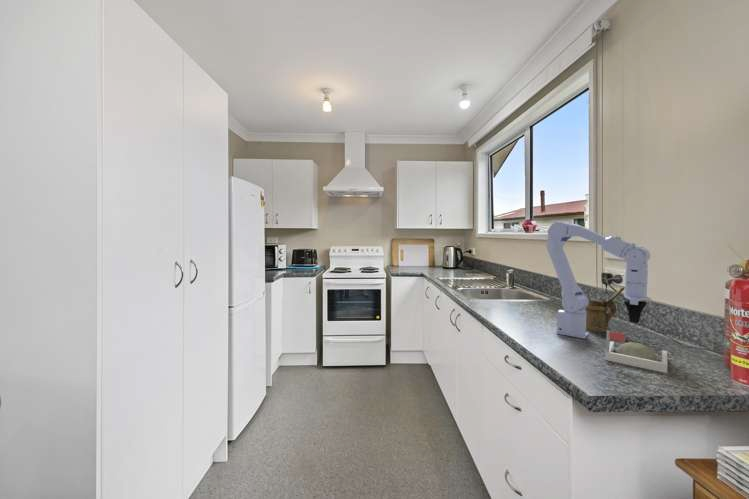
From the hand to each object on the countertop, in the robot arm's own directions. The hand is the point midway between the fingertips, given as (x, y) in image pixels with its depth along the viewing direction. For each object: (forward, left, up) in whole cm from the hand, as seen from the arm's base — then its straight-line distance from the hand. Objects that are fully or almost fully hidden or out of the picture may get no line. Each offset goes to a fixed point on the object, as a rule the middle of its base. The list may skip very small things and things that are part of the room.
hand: (634, 322), depth 108 cm
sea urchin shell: (+1, -12, -9) cm, 15 cm away
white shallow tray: (+1, -13, -9) cm, 15 cm away
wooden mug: (-11, +18, -9) cm, 23 cm away
